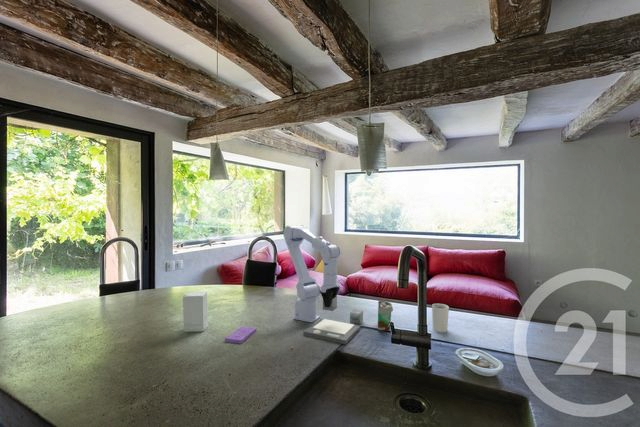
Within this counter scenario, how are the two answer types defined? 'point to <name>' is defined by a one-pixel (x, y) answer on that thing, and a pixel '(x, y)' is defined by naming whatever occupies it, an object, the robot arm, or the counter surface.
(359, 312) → the block
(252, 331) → the sponges
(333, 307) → the block
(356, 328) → the kitchen scale
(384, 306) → the food container
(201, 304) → the skincare box
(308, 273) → the robot arm
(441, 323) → the white cup
